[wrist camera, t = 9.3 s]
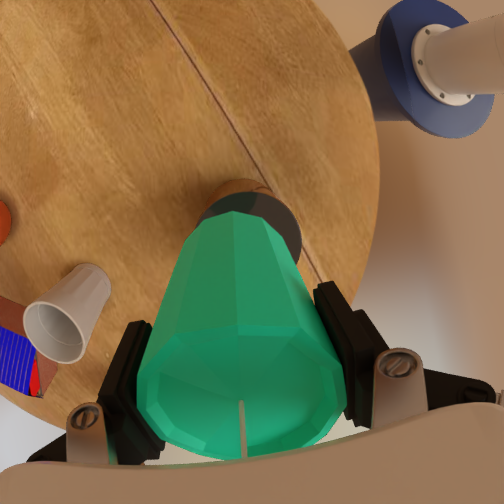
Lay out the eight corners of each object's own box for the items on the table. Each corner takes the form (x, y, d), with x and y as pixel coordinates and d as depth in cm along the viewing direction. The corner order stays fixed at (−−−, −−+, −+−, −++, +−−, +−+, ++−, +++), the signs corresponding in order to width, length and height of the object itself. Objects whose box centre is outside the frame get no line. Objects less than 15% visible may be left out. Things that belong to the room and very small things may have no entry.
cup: (128, 289, 40) (98, 343, 29) (94, 320, 41) (62, 373, 30) (86, 245, 37) (42, 287, 26) (55, 280, 39) (13, 325, 28)
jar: (274, 168, 36) (291, 180, 26) (289, 245, 39) (308, 281, 30) (192, 186, 36) (179, 206, 27) (212, 262, 40) (208, 304, 30)
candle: (306, 279, 18) (388, 455, 7) (218, 327, 19) (215, 514, 8) (253, 189, 16) (304, 318, 5) (159, 248, 17) (72, 422, 6)
